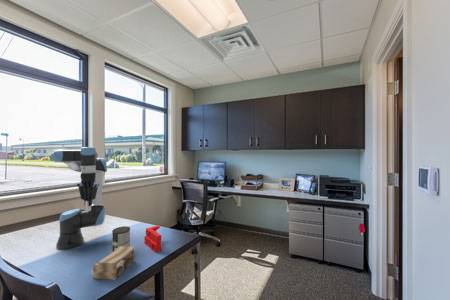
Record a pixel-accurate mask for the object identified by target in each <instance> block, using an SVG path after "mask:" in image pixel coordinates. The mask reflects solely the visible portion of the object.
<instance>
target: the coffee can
mask: <svg viewBox="0 0 450 300" xmlns="http://www.w3.org/2000/svg"><path fill="white" fill-rule="evenodd" d="M111 232H112V233H111V234H112V237H111V238H112V252H113V251H114V249H115V248H118V247H120V246H122V247H131V242H130V241H131V227H130V226H127V225H126V226H119V227H116V228H113V229H112V231H111ZM112 252H111V253H112Z"/></svg>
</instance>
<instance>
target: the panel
mask: <svg viewBox="0 0 450 300" xmlns="http://www.w3.org/2000/svg"><path fill="white" fill-rule="evenodd" d="M125 261H126V260H121V261H120V262H119V263H118V264H117V268H118V267H119V266H123V269H125V267H124V262H125ZM91 276H92V277H93V270H92V271H91Z"/></svg>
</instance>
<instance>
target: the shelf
mask: <svg viewBox="0 0 450 300" xmlns="http://www.w3.org/2000/svg"><path fill="white" fill-rule="evenodd" d="M121 260H126V261H125V262H124V268H129V267H130V266H131V265H132V263H133V262H135V246H130V247H122V246H120V247H118V248H115V249H114V251H113V252H110V253H109V254H108V255H107V256H105V257H103V259H101V260H100V261H98V263H97V262H95V263H93V264H92V266H93V267H92V271H93V276H92V278H93V279H101V280H114V281H115V280H117V279H118V278H117V277H120V276H121V275H122V273H124V268H123V266H119V267H118V268H117V264H118V263H119V262H120V261H121Z"/></svg>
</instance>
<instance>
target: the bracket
mask: <svg viewBox="0 0 450 300" xmlns="http://www.w3.org/2000/svg"><path fill="white" fill-rule="evenodd" d="M160 228H161V226H160V225H159V224H157V225H154V226H150V227H146V228H145V235H144V236H143V237H144V242H143V243H144V244H145V246H147V247H148V248H149V249H150V250H152V252H154V253H158V252H161V251H162V234H160V233H159V232H158V230H159V229H160Z"/></svg>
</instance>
